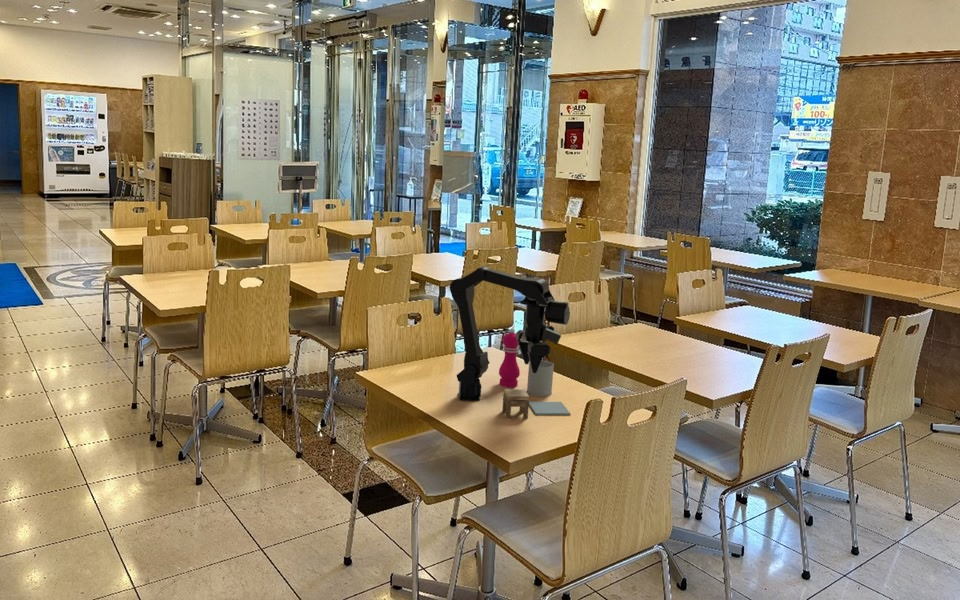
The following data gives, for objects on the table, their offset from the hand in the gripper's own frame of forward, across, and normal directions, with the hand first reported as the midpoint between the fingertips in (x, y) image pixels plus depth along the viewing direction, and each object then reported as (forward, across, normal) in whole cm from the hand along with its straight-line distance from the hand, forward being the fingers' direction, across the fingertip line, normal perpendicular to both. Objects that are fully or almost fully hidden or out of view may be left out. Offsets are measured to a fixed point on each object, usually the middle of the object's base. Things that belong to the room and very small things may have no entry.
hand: (530, 368), depth 241 cm
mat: (+13, -1, -7) cm, 15 cm away
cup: (+14, +16, -9) cm, 23 cm away
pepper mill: (+14, +25, 0) cm, 28 cm away
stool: (+13, -5, +5) cm, 15 cm away
